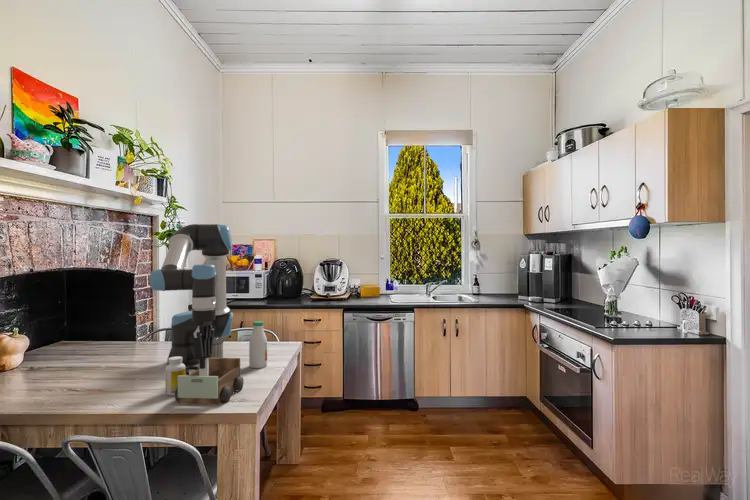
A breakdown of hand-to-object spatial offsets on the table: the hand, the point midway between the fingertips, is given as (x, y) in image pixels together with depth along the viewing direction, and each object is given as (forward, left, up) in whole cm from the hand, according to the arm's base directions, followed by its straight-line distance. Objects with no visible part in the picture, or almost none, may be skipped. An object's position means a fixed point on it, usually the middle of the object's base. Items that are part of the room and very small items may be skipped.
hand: (204, 377), depth 144 cm
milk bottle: (+4, +43, -8) cm, 44 cm away
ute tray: (0, +6, -8) cm, 10 cm away
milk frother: (-13, +26, -8) cm, 30 cm away
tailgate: (0, -4, -6) cm, 7 cm away
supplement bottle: (-14, +7, -8) cm, 18 cm away
